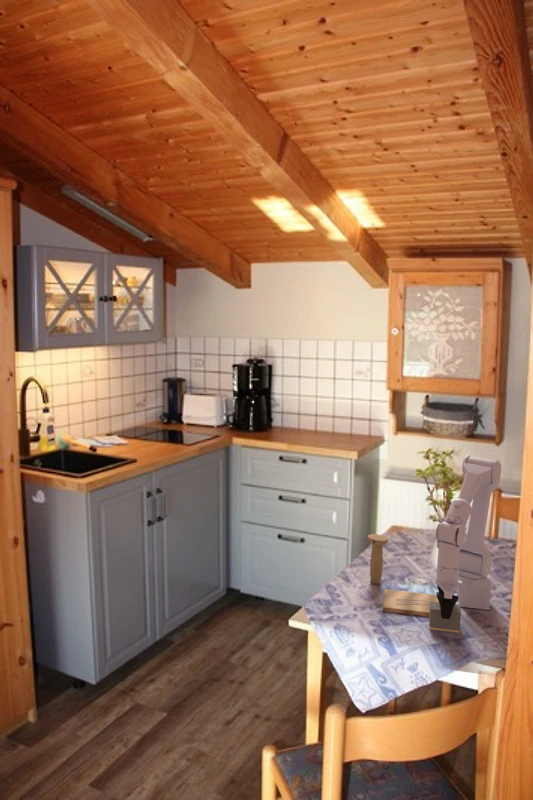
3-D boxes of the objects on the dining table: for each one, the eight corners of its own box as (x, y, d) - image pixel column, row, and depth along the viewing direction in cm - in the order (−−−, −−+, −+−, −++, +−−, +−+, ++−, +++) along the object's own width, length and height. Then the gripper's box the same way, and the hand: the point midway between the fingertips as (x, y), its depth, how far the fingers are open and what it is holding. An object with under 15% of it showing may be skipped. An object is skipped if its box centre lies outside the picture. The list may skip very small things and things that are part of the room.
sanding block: (458, 624, 185) (459, 604, 184) (459, 633, 181) (461, 612, 180) (428, 621, 187) (430, 601, 186) (429, 629, 182) (430, 608, 181)
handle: (381, 587, 207) (383, 542, 205) (363, 582, 211) (365, 537, 209) (388, 582, 211) (390, 537, 209) (370, 577, 215) (372, 532, 212)
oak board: (438, 598, 200) (438, 595, 200) (439, 617, 189) (439, 613, 189) (384, 592, 204) (384, 589, 203) (382, 611, 192) (382, 607, 192)
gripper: (465, 577, 173) (461, 626, 175) (461, 556, 187) (458, 601, 189) (437, 574, 174) (434, 622, 177) (435, 554, 188) (432, 598, 191)
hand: (444, 611), depth 183 cm, fingers open, 7 cm apart
